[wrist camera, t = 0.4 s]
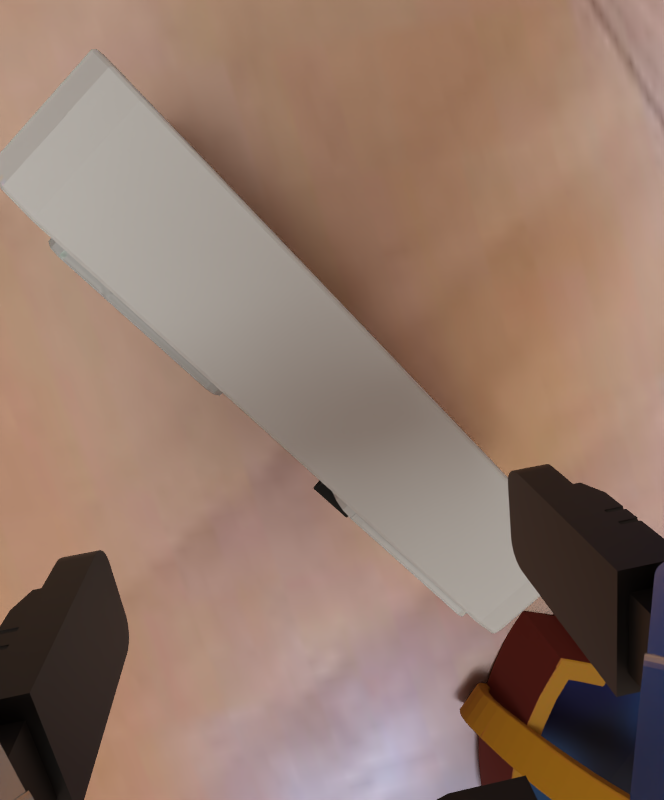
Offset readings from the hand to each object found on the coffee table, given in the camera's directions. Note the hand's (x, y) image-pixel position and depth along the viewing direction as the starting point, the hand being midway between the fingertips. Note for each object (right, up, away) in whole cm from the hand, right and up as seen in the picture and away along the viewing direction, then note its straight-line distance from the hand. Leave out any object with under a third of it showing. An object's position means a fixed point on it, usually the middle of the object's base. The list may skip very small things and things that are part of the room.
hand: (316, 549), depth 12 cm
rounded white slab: (-2, +8, +28) cm, 29 cm away
